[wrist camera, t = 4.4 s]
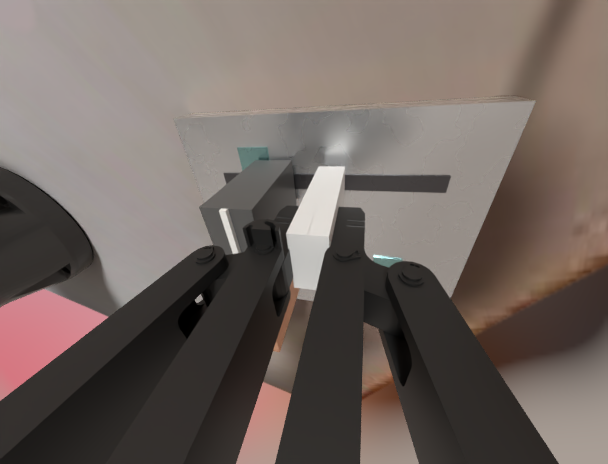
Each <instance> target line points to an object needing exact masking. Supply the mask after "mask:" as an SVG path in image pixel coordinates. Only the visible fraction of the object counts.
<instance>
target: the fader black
mask: <svg viewBox="0 0 608 464" xmlns="http://www.w3.org/2000/svg"><path fill="white" fill-rule="evenodd" d="M287 205H288V206H296V205H297V204H296V195H295V185H294V176H293V167H292V160H255V161H254V162H252V163H251V164H250V165H249V166H248V167H246V168H245V169H244V170H243V171H242V172H241V173H239V174H238V175H237V176H236V177H235V178H233V179H232V180H231V181H230V182H229V183H227V184H226V185H225V186H224V187H223V188H221V189H220V190H219V191H218V192H217V193H216V194H214V195H213V196H212V197H211V198H210V199H208V200H207V201H206V202H205V203H204V204H202V205H201V206H200V207H199V208H200V211H201V213H202V216H203V219H204V221H205V224H206V227H207V229H208V232H209V234H210V237H211V240H212V242H213V245H214V246H219V247H221V248H223V250H224V252H225V255H229V254H236V253H242V252H245V250H246V249H247V243H246V239H245V236H244V232H243V229H242V228H243V227H244V226H245V225H247V224H248V223H250V222H252V221H256V220H260V219H269V220H274V219H275V218H276V216H277V214H278V213H279V211H280V210H281V209H283V208H284V207H285V206H287Z"/></svg>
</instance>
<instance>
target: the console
mask: <svg viewBox="0 0 608 464" xmlns="http://www.w3.org/2000/svg"><path fill="white" fill-rule="evenodd" d="M535 102H536V101H535V100H531V99H526V98H522V97H518V96H499V97H481V98H463V99H445V100H426V101H408V102H390V103H372V104H354V105H335V106H317V107H299V108H281V109H263V110H244V111H226V112H208V113H192V114H189V115H185V116H181V117H178V118H174V122H175V125H176V128H177V130H178V133H179V136H180V139H181V141H182V144H183V147H184V150H185V152H186V155H187V158H188V161H189V163H190V166H191V169H192V172H193V174H194V177H195V180H196V183H197V185H198V188H199V191H200V194H201V196H202V199H203V202H204V203H205V202H206V201H207V200H208V199H210V198H211V197H212V196H213V195H214V194H216V193H217V192H218V191H219V190H220V189H221V188H223V187H224V186H225V185H226V184H227V183H229V182H230V181H231V180H232V179H233V178H235V177H236V176H237V175H238V174H239V173H241V172H242V171H243V170H244V169H245V168H246V167H248V166H249V165H250V164H251V163H252V162H254V161H255V160H292V167H293V176H294V185H295V195H296V204H297V205H296V206H300V204H301V202H302V199H303V197H304V195H305V193H306V191H307V189H308V187H309V185H310V183H311V181H312V179H313V177H314V175H315V173H316V171H317V169H318V167H319V166H345V192H344V207H358V208H361V209H362V210H363V211H364V213H365V242H364V249H365V253H366V255H367V256H368V257H369V258H370V259H371V260H372V261H374V262H375V263H378V264H380V265H383V266H386V267H390V266H391V265H393V264H394V263H396V262H401V261H411V262H415V263H418V264H421V265H423V266H425V267H427V268H428V269H430V270H431V272H432V273H433V274H434V275H435V276H436V278H437V279H438V281H439V282H440V284H441V285H442V287H443V288H444V290H445V291H446V293H447V294H448V296H449V297H450V298H451V296H452V294H453V291H454V289H455V287H456V284H457V282H458V280H459V278H460V275H461V273H462V271H463V268H464V266H465V264H466V261H467V259H468V257H469V254H470V252H471V250H472V248H473V245H474V243H475V241H476V238H477V236H478V234H479V231H480V229H481V227H482V224H483V222H484V220H485V218H486V215H487V213H488V211H489V208H490V206H491V204H492V201H493V199H494V197H495V194H496V192H497V190H498V188H499V185H500V183H501V181H502V178H503V176H504V174H505V171H506V169H507V167H508V164H509V162H510V160H511V158H512V155H513V153H514V151H515V148H516V146H517V144H518V141H519V139H520V137H521V134H522V132H523V130H524V128H525V125H526V123H527V121H528V118H529V116H530V114H531V111H532V109H533V107H534V104H535ZM315 292H316V290H310V289H302V288H300V289H299V293H298V296H297V299H301V300H308V301H314V297H315Z"/></svg>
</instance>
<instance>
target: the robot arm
mask: <svg viewBox="0 0 608 464" xmlns="http://www.w3.org/2000/svg"><path fill="white" fill-rule="evenodd" d="M344 192H345V166H319V167H318V169H317V171H316V173H315V175H314V177H313V179H312V181H311V183H310V185H309V187H308V189H307V191H306V193H305V195H304V197H303V199H302V202H301V204H300V206H288V205H287V206H285V207H284V208H283V209H281V210H280V211H279V213H278V214H277V216H276V218H275V219H274V220H269V219H260V220H256V221H252V222H250V223H248V224H247V225H245V226H244V227H243V228H242V229H243V232H244V236H245V239H246V243H247V249H246V250H245V252H242V253H236V254H229V255H225V252H224V250H223V248H221V247H219V246H214V245H212V246H205V247H202V248H200V249H198V250H196V251H194V252H193V253H191V254H190V255H189V256H187V257H186V258H185V259H184V260H182V261H181V262H180V263H178V264H177V265H176V266H175V267H173V268H172V269H171V270H169V271H168V272H167V273H165V274H164V275H163V276H162V277H160V278H159V279H158V280H156V281H155V282H154V283H153V284H151V285H150V286H149V287H147V288H146V289H145V290H143V291H142V292H141V293H140V294H138V295H137V296H136V297H134V298H133V299H132V300H130V301H129V302H128V303H127V304H125V305H124V306H123V307H121V308H120V309H119V310H118V311H116V312H115V313H114V314H112V315H111V316H110V317H108V318H107V319H106V320H105V321H103V322H102V323H101V324H100V325H98V326H97V327H96V328H94V329H93V330H92V331H90V332H89V333H88V334H86V335H85V336H84V337H83V338H81V339H80V340H79V341H78V342H76V343H75V344H74V345H72V346H71V347H70V348H68V349H67V350H66V351H64V352H63V353H62V354H61V355H59V356H58V357H57V358H55V359H54V360H53V361H51V362H50V363H49V364H48V365H46V366H45V367H44V368H42V369H41V370H40V371H39V372H37V373H36V374H35V375H33V376H32V377H31V378H30V379H28V380H27V381H26V382H24V383H23V384H22V385H20V386H19V387H18V388H17V389H15V390H14V391H13V392H11V393H10V394H9V395H8V396H6V397H5V398H4V399H2V400H1V401H0V464H236V461H237V458H238V455H239V452H240V449H241V446H242V443H243V440H244V437H245V434H246V431H247V428H248V425H249V422H250V419H251V415H252V413H253V410H254V407H255V404H256V401H257V398H258V395H259V392H260V389H261V386H262V383H263V380H264V377H265V374H266V371H267V368H268V365H269V362H270V359H271V355H272V352H273V349H274V346H275V343H276V340H277V337H278V334H279V331H280V328H281V325H282V322H283V319H284V316H285V313H286V310H287V307H288V304H289V301H290V296H291V292H290V285H291V282H292V280H293V284H294V288H302V289H310V290H316V292H315V297H314V301H313V305H312V309H311V314H310V318H309V322H308V326H307V331H306V335H305V339H304V343H303V347H302V352H301V356H300V360H299V364H298V369H297V373H296V377H295V381H294V386H293V390H292V394H291V399H290V403H289V407H288V412H287V416H286V420H285V424H284V428H283V433H282V437H281V441H280V445H279V450H278V454H277V458H276V462H275V464H360V444H361V443H360V442H361V402H362V360H363V322H366V323H368V324H370V325H372V326H374V327H376V328H379V333H380V336H381V339H382V343H383V346H384V349H385V353H386V356H387V359H388V362H389V366H390V369H391V372H392V376H393V379H394V382H395V386H396V389H397V392H398V395H399V399H400V402H401V405H402V409H403V412H404V415H405V419H406V422H407V425H408V428H409V432H410V435H411V438H412V442H413V445H414V448H415V452H416V455H417V458H418V461H419V464H559V463H558V462H557V461H556V459H555V457H554V456H553V454H552V453H551V451H550V450H549V448H548V447H547V445H546V443H545V442H544V440H543V439H542V438H541V436H540V434H539V433H538V431H537V430H536V428H535V427H534V425H533V424H532V422H531V421H530V419H529V418H528V416H527V415H526V413H525V412H524V410H523V409H522V407H521V405H520V404H519V403H518V401H517V399H516V398H515V396H514V395H513V393H512V392H511V390H510V389H509V387H508V386H507V384H506V383H505V381H504V380H503V378H502V377H501V375H500V373H499V372H498V371H497V369H496V367H495V366H494V364H493V363H492V361H491V360H490V358H489V357H488V355H487V354H486V352H485V351H484V349H483V348H482V346H481V345H480V343H479V341H478V340H477V339H476V337H475V335H474V334H473V332H472V331H471V329H470V328H469V326H468V325H467V323H466V322H465V320H464V319H463V317H462V316H461V314H460V313H459V311H458V310H457V308H456V306H455V305H454V303H453V302H452V300H451V299H450V297H449V296H448V294H447V293H446V291H445V290H444V288H443V287H442V285H441V284H440V282H439V281H438V279H437V278H436V276H435V275H434V274H433V273H432V272H431V270H430V269H428V268H427V267H425V266H423V265H421V264H418V263H415V262H411V261H401V262H396V263H394V264H393V265H391V266H390V267H386V266H383V265H380V264H378V263H375V262H374V261H372V260H371V259H370V258H369V257H368V256H367V255H366V253H365V249H364V242H365V213H364V211H363V210H362V209H361V208H358V207H344ZM92 260H93V254H92V249H91V247H90V244H89V242H88V240H87V238H86V237H85V235H84V234H83V232H82V231H81V229H80V228H79V227H78V225H77V224H76V223H75V222H74V220H73V219H72V218H71V217H70V216H69V215H68V214H67V213H66V212H65V211H64V210H63V209H62V208H61V207H60V206H59V205H58V204H57V203H56V202H54V201H53V200H52V199H51V198H50V197H48V196H47V195H46V194H45V193H43V192H42V191H41V190H39V189H38V188H37V187H35V186H34V185H32V184H31V183H29V182H28V181H26V180H24V179H23V178H21V177H19V176H17V175H16V174H14V173H12V172H10V171H7V170H5V169H3V168H0V307H2V306H3V305H5V304H7V303H9V302H12V301H14V300H17V299H19V298H22V297H24V296H27V295H30V294H32V293H35V292H37V291H40V290H42V289H45V288H47V287H50V286H52V285H55V284H58V283H60V282H63V281H65V280H68V279H70V278H72V277H74V276H75V275H77V274H78V273H80V272H81V271H82V270H84V269H85V268H87V267H88V266H89V265H90V264H91V263H92ZM200 294H201V296H202V298H203V300H202V301H200V302H199V303H196V302H195V299H196V298H197V297H198V296H199V295H200Z"/></svg>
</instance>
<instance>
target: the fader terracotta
mask: <svg viewBox="0 0 608 464" xmlns="http://www.w3.org/2000/svg"><path fill="white" fill-rule="evenodd" d="M299 289H300V288H294V284H293V280H292V282H291V285H290V292H291V296H290V301H289V304H288V307H287V310H286V313H285V316H284V319H283V322H282V325H281V328H280V331H279V334H278V337H277V340H276V343H275V346H274V349H273V351H276V352H280V350H281V346H282V343H283V340H284V337H285V334H286V331H287V327H288V324H289V321H290V318H291V315H292V312H293V308H294V305H295V302H296V299H297V296H298V293H299Z"/></svg>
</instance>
